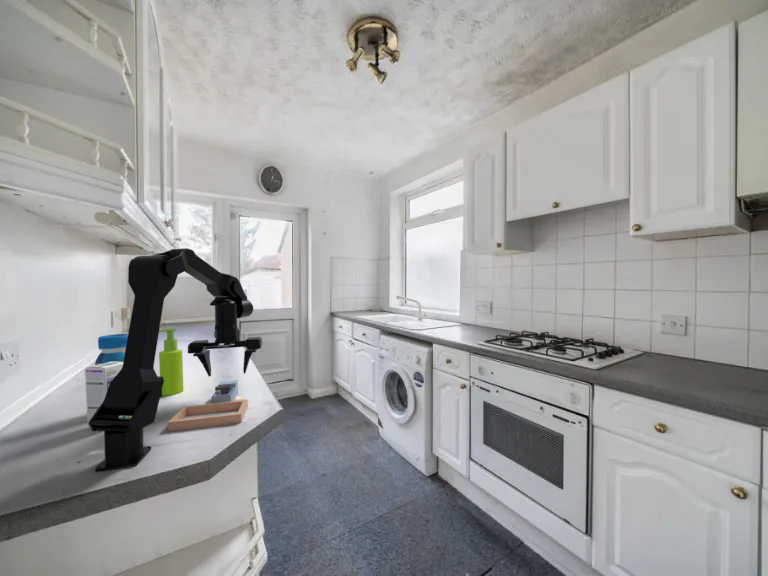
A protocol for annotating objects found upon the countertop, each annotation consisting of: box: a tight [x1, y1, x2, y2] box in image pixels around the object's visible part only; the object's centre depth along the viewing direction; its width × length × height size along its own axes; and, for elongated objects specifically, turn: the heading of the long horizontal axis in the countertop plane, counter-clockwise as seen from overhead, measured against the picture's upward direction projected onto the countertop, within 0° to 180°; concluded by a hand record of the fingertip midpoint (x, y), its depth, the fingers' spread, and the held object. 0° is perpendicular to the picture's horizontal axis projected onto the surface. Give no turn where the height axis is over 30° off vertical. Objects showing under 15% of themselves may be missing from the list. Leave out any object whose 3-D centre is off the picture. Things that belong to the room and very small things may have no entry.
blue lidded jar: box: [94, 333, 128, 366], centre depth 86 cm, size 8×8×20 cm
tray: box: [167, 399, 249, 432], centre depth 78 cm, size 10×15×2 cm, turn 105°
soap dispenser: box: [158, 328, 184, 397], centre depth 98 cm, size 6×7×20 cm
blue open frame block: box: [211, 379, 239, 403], centre depth 90 cm, size 10×5×4 cm, turn 15°
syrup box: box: [84, 361, 132, 430], centre depth 77 cm, size 6×6×14 cm
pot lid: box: [204, 385, 246, 404], centre depth 89 cm, size 10×10×5 cm
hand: (227, 374), depth 93 cm, fingers open, 9 cm apart
